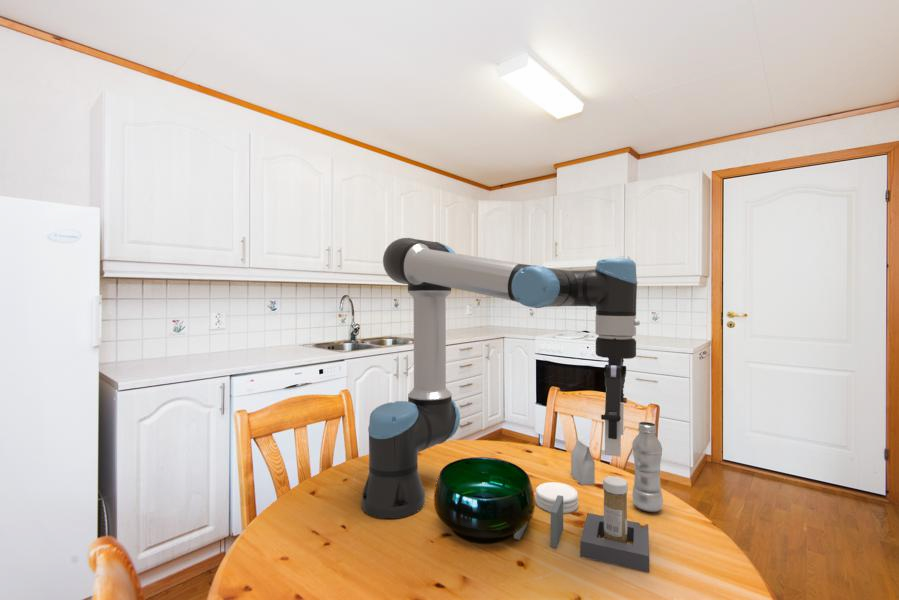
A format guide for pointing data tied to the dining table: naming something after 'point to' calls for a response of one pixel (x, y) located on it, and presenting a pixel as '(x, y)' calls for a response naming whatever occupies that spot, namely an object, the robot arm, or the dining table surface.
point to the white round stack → (549, 493)
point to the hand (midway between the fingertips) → (614, 443)
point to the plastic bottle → (647, 469)
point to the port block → (616, 544)
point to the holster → (555, 523)
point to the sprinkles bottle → (615, 508)
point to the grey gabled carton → (582, 464)
